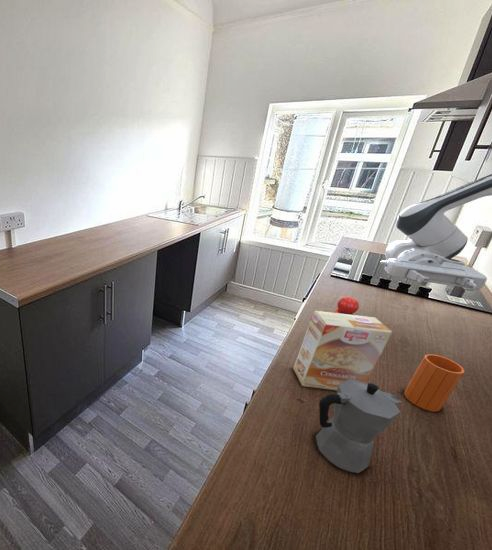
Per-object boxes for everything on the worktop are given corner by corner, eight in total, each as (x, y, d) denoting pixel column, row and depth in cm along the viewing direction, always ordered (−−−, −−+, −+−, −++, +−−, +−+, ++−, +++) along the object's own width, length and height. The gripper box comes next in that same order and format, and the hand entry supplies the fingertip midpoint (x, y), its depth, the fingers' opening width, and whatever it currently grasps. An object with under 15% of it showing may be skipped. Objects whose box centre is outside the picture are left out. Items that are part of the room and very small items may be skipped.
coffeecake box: (302, 386, 78) (325, 324, 70) (291, 368, 84) (312, 309, 77) (362, 395, 76) (394, 331, 68) (347, 375, 83) (374, 316, 75)
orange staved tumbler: (447, 409, 73) (472, 371, 68) (426, 413, 72) (450, 374, 67) (417, 389, 79) (438, 353, 75) (397, 392, 78) (417, 355, 73)
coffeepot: (353, 431, 66) (385, 367, 59) (389, 474, 57) (432, 405, 50) (287, 431, 65) (311, 367, 58) (314, 475, 56) (347, 406, 49)
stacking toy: (309, 344, 96) (327, 292, 88) (326, 339, 98) (346, 289, 91) (332, 359, 89) (354, 305, 82) (350, 354, 92) (373, 301, 84)
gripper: (382, 250, 89) (402, 265, 77) (470, 262, 82) (507, 280, 71) (374, 269, 91) (392, 287, 79) (458, 282, 85) (492, 303, 73)
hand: (447, 284), depth 75 cm, fingers open, 8 cm apart
